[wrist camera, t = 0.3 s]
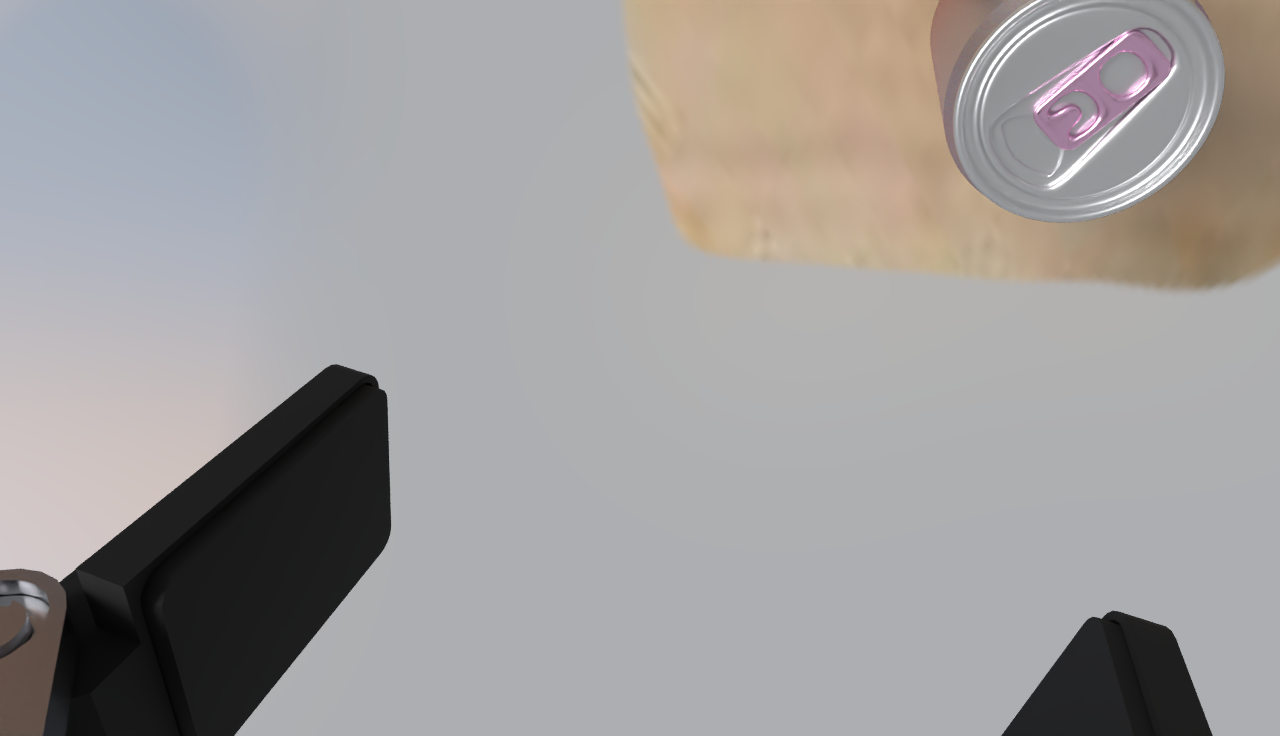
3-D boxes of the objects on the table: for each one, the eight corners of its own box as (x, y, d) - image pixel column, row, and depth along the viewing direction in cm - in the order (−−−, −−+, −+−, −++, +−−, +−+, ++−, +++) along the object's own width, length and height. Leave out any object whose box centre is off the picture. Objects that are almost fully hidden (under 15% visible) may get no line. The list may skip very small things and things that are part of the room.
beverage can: (1132, 18, 29) (1298, 104, 17) (995, 134, 32) (1050, 276, 20) (1027, -100, 28) (1122, -100, 16) (898, 31, 32) (892, 114, 19)
